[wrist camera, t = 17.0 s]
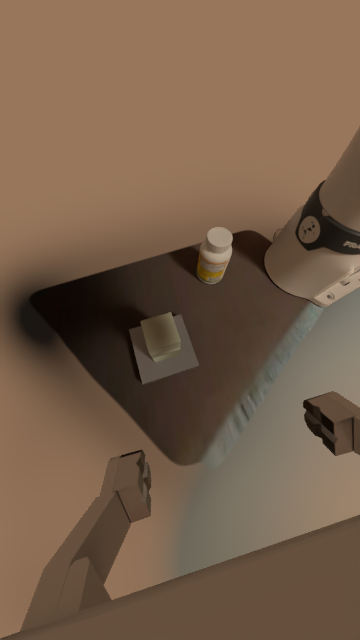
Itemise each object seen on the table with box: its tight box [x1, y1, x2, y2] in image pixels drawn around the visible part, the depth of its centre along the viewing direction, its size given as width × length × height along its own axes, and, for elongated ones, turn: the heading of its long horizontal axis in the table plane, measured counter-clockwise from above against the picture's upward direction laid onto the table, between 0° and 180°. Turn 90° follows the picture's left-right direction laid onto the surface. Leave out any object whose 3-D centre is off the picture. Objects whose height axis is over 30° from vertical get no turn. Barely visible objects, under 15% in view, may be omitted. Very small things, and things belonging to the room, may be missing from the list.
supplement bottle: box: [197, 227, 233, 284], centre depth 35 cm, size 5×5×10 cm
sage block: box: [140, 312, 181, 362], centre depth 28 cm, size 4×4×8 cm
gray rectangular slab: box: [129, 314, 199, 385], centre depth 32 cm, size 9×9×2 cm
